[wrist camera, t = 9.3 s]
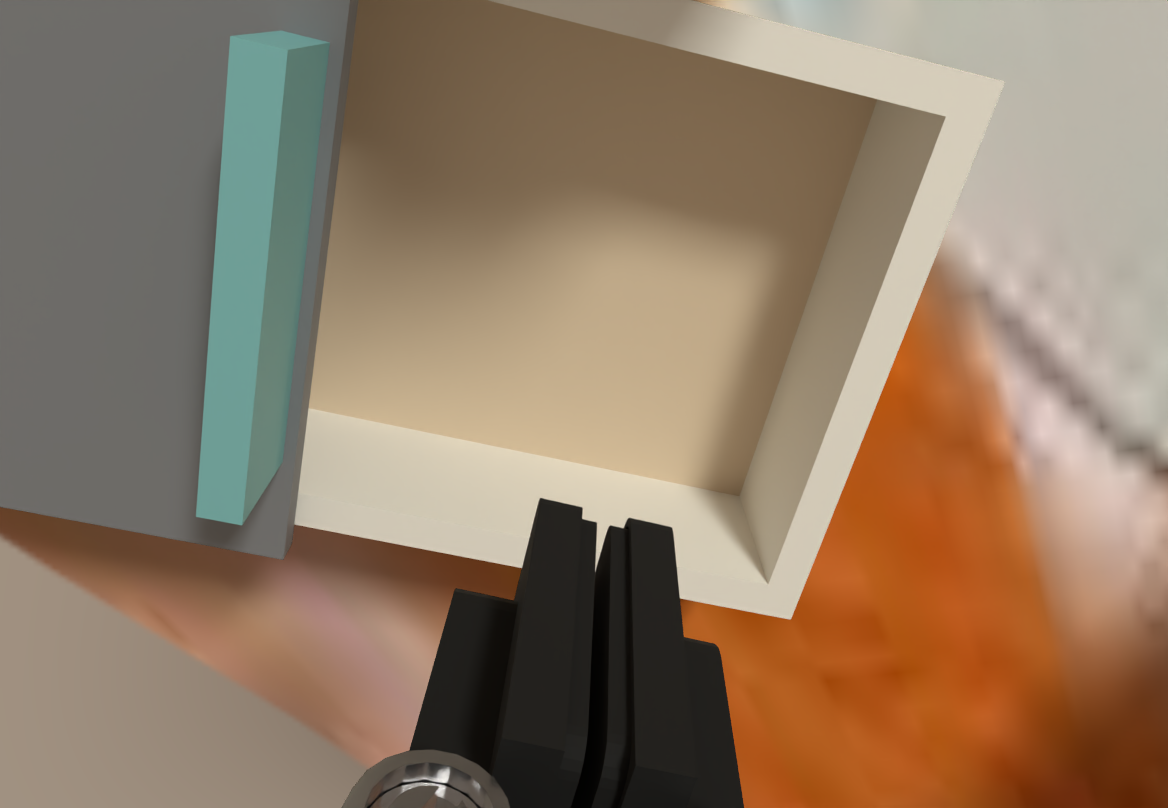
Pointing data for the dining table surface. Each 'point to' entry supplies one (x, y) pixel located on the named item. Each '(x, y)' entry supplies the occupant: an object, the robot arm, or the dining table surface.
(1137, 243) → the dining table surface
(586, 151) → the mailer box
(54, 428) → the lid
